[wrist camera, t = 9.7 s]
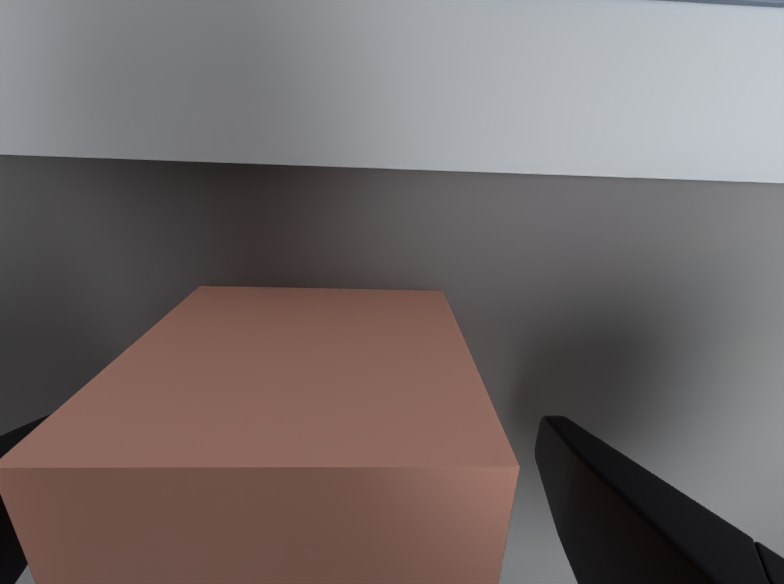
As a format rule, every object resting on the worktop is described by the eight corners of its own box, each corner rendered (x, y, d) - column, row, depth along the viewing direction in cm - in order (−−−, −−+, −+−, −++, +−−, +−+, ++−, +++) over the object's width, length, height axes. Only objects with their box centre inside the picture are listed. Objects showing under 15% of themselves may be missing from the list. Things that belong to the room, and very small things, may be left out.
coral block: (227, 473, 10) (104, 756, 6) (201, 284, 9) (-10, 467, 4) (427, 473, 11) (468, 743, 6) (442, 289, 9) (519, 467, 4)
